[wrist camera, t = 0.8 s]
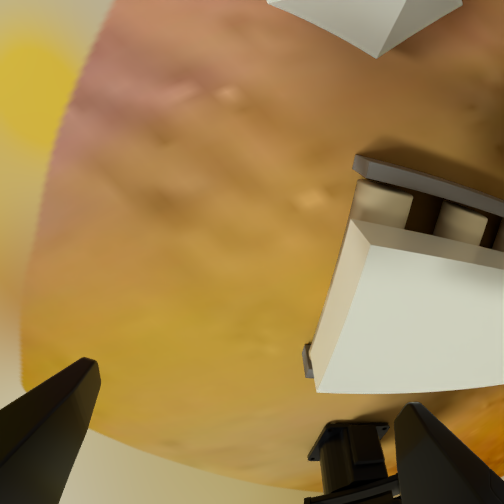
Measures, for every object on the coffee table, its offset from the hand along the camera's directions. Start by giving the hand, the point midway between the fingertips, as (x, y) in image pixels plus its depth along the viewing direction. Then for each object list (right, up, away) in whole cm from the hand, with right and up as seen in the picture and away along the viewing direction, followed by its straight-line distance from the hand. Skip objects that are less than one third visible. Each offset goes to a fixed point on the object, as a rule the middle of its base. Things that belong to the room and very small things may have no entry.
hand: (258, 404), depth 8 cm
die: (+4, +18, +4) cm, 19 cm away
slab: (+12, +1, +8) cm, 14 cm away
